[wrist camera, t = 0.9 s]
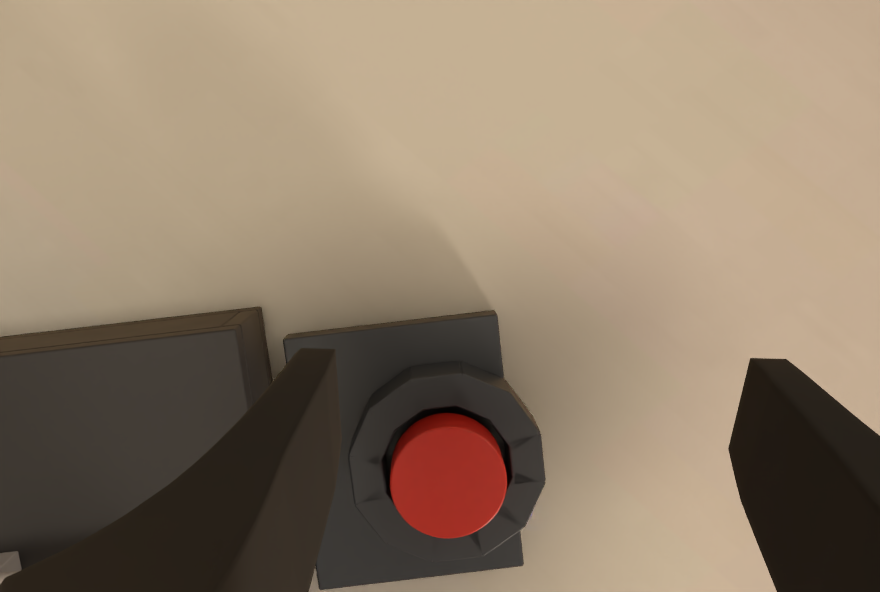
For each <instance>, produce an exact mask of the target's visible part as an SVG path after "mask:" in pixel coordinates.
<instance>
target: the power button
mask: <svg viewBox="0 0 880 592" xmlns="http://www.w3.org/2000/svg"><path fill="white" fill-rule="evenodd" d="M506 489H507V474H506V468H505V465H504V462H503V458H502V455H501V451H500V448H499V446H498V444H497V441H496V440H495V438H494V437H493V435H492V434H491V433H490V431H489V430H488V429H487V428H486V427H484V426H483V425H482V424H481V423H479V422H478V421H476V420H474V419H472V418H470V417H468V416H465V415H461V414H456V413H439V414H433V415H430V416H427V417H425V418H423V419H420V420H419V421H417V422H415V423H414V424H413V425H411V426H410V427H409V428H408V429H407V430H406V431H405V432H404V433H403V434H402V436H401V437H400V439H399V440H398V442H397V444H396V446H395V449H394V452H393V456H392V462H391V473H390V491H391V496H392V500H393V502H394V505H395V507H396V509H397V511H398V512H399V514H400V515H401V516H402V518H403V519H404V520H405V521H406V522H407V523H408V524H409V525H411V526H412V527H413V528H415V529H416V530H418V531H420V532H422V533H424V534H427V535H430V536H433V537H438V538H458V537H463V536H466V535H469V534H472V533H474V532H476V531H478V530H479V529H481V528H483V527H484V526H485V525H486V524H488V523H489V522H490V521H491V520H492V519H493V518H494V516H495V515H496V514H497V512H498V511H499V509H500V507H501V506H502V503H503V501H504V498H505V494H506Z"/></svg>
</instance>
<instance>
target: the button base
mask: <svg viewBox="0 0 880 592" xmlns="http://www.w3.org/2000/svg"><path fill="white" fill-rule="evenodd" d="M283 344H284V351H285V358H286V364H287V363H288V362H289V361H290V359H291V358H292V357H293V355H294V354H295V353H296V352H297V351H298V350H299V349H301V348H315V349H335V350H336V364H337V378H338V392H339V406H340V420H341V434H342V442H341V450H340V457H339V465H338V473H337V480H336V487H335V492H334V496H333V500H332V504H331V508H330V512H329V515H328V519H327V523H326V527H325V531H324V535H323V538H322V542H321V546H320V550H319V554H318V557H317V561H316V571H317V578H318V585H319V589H320V590H325V589H333V588H342V587H350V586H358V585H367V584H375V583H384V582H392V581H400V580H409V579H417V578H425V577H434V576H442V575H451V574H459V573H467V572H476V571H484V570H493V569H501V568H509V567H518V566H523V564H524V562H523V553H522V543H521V534H520V530H522V529H523V528H524V527H525V526H526V524H527V521H528V519H529V517H530V515H531V513H532V511H533V509H534V507H535V504H536V502H537V500H538V498H539V496H540V494H541V492H542V490H543V487H544V485H545V470H544V460H543V450H542V440H541V434H540V431H539V429H538V426H537V424H536V422H535V420H534V418H533V416H532V414H531V413H530V412H529V410H528V409H527V408H526V406H525V405H524V404H523V402H522V401H521V400H520V398H519V397H518V396H517V394H516V393H515V392H514V390H513V389H512V388H511V386H510V385H509V384H508V382H507V381H506V380H505V379H504V373H503V364H502V354H501V345H500V336H499V326H498V317H497V314H496V312H495V311H494V310H492V311H483V312H475V313H466V314H458V315H449V316H441V317H432V318H424V319H415V320H407V321H398V322H390V323H381V324H372V325H364V326H355V327H347V328H338V329H330V330H321V331H313V332H304V333H296V334H288V335H287V336H286V337H285V338H284V340H283ZM439 413H456V414H461V415H465V416H468V417H470V418H472V419H474V420H476V421H478V422H479V423H481V424H482V425H483V426H484V427H486V428H487V429H488V430H489V431H490V433H491V434H492V435H493V437H494V438H495V440H496V441H497V444H498V446H499V448H500V451H501V455H502V458H503V462H504V465H505V468H506V474H507V489H506V494H505V498H504V501H503V503H502V506H501V507H500V509H499V511H498V512H497V514H496V515H495V516H494V518H493V519H492V520H491V521H490V522H489V523H488V524H486V525H485V526H484V527H483V528H481V529H479V530H478V531H476V532H474V533H472V534H469V535H466V536H463V537H458V538H438V537H433V536H430V535H427V534H424V533H422V532H420V531H418V530H416V529H415V528H413V527H412V526H411V525H409V524H408V523H407V522H406V521H405V520H404V519H403V518H402V516H401V515H400V514H399V512H398V511H397V509H396V507H395V505H394V502H393V500H392V496H391V491H390V473H391V462H392V456H393V452H394V449H395V446H396V444H397V442H398V440H399V439H400V437H401V436H402V434H403V433H404V432H405V431H406V430H407V429H408V428H409V427H410V426H411V425H413V424H414V423H415V422H417V421H419V420H420V419H423V418H425V417H427V416H430V415H433V414H439Z"/></svg>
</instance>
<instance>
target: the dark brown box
mask: <svg viewBox="0 0 880 592" xmlns="http://www.w3.org/2000/svg"><path fill="white" fill-rule="evenodd" d="M234 325H239V326H240V327H241V334H242V340H243V347H244V353H245V360H246V366H247V373H248V379H249V386H250V393H251V399H252V405H253V404H254V403H255V402H256V401H257V399H258V398H259V397H260V396H261V395H262V394H263V393H264V391H265V390H266V389H267V388H268V387H269V385H270V384H271V383H272V377H271V370H270V364H269V357H268V350H267V343H266V337H265V330H264V323H263V316H262V310H261V307H254V308H245V309H237V310H228V311H219V312H211V313H202V314H194V315H185V316H177V317H168V318H160V319H151V320H142V321H134V322H125V323H117V324H108V325H100V326H91V327H83V328H74V329H65V330H57V331H48V332H40V333H31V334H23V335H14V336H5V337H0V353H3V352H11V351H20V350H28V349H37V348H46V347H54V346H63V345H71V344H80V343H88V342H97V341H105V340H114V339H123V338H131V337H140V336H148V335H157V334H165V333H174V332H182V331H191V330H199V329H208V328H217V327H225V326H234Z"/></svg>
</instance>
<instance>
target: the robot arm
mask: <svg viewBox="0 0 880 592" xmlns="http://www.w3.org/2000/svg"><path fill="white" fill-rule="evenodd" d="M341 442H342V434H341V420H340V406H339V392H338V378H337V364H336V350H335V349H315V348H301V349H299V350H298V351H297V352H296V353H295V354H294V355H293V357H292V358H291V359H290V361H289V362H288V363H287V364H286V366H285V367H284V368H283V369H282V371H281V372H280V373H279V374H278V376H277V377H276V378H275V379H274V381H273V382H272V383H271V384H270V385H269V387H268V388H267V389H266V390H265V391H264V393H263V394H262V395H261V396H260V397H259V398H258V399H257V401H256V402H255V403H254V404H253V405H252V406H251V407H250V408H249V409H248V411H247V412H246V413H245V414H244V415H243V416H242V417H241V418H240V419H239V421H238V422H237V423H236V424H235V425H234V426H233V427H232V428H231V429H230V430H229V431H228V432H227V433H226V434H225V435H224V436H223V437H222V438H221V439H220V440H219V441H218V442H217V443H216V444H215V445H214V446H213V447H212V448H210V449H209V450H208V451H207V452H206V453H205V454H204V455H203V456H202V457H201V458H200V459H198V460H197V461H196V462H195V463H194V464H193V465H192V466H190V467H189V468H188V469H187V470H186V471H185V472H183V473H182V474H181V475H180V476H178V477H177V478H176V479H175V480H174V481H172V482H171V483H170V484H169V485H167V486H166V487H164V488H163V489H162V490H160V491H159V492H157V493H156V494H154V495H153V496H152V497H150V498H149V499H147V500H146V501H144V502H143V503H141V504H140V505H139V506H137V507H136V508H134V509H133V510H131V511H130V512H128V513H127V514H125V515H124V516H122V517H121V518H119V519H117V520H116V521H114V522H112V523H111V524H109V525H108V526H106V527H104V528H103V529H101V530H99V531H97V532H96V533H94V534H92V535H90V536H89V537H87V538H85V539H83V540H81V541H80V542H78V543H76V544H74V545H72V546H70V547H68V548H66V549H65V550H63V551H61V552H59V553H56V554H54V555H52V556H50V557H48V558H46V559H44V560H42V561H40V562H38V563H36V564H33V565H31V566H29V567H27V568H25V569H23V570H21V571H19V572H17V573H14V574H12V575H10V576H7V577H5V578H4V580H3V581H2V583H1V584H0V592H308V591H309V588H310V584H311V580H312V576H313V572H314V569H315V565H316V561H317V557H318V554H319V550H320V546H321V542H322V538H323V535H324V531H325V527H326V523H327V519H328V515H329V512H330V508H331V504H332V500H333V496H334V492H335V487H336V480H337V473H338V465H339V457H340V450H341ZM728 449H729V453H730V458H731V462H732V467H733V471H734V475H735V480H736V483H737V487H738V491H739V495H740V499H741V502H742V505H743V507H744V510H745V513H746V515H747V518H748V520H749V523H750V525H751V528H752V530H753V533H754V536H755V538H756V541H757V543H758V546H759V548H760V551H761V553H762V556H763V558H764V560H765V563H766V565H767V568H768V570H769V573H770V575H771V578H772V580H773V583H774V585H775V588H776V590H777V592H880V436H879V435H878V434H877V433H875V432H874V431H873V430H872V429H870V428H869V427H868V426H867V425H865V424H864V423H863V422H862V421H860V420H859V419H858V418H857V417H856V416H854V415H853V414H852V413H851V412H850V411H848V410H847V409H846V408H845V407H843V406H842V405H841V404H840V403H839V402H838V401H836V400H835V399H834V398H833V397H832V396H830V395H829V394H828V393H827V392H826V391H825V390H823V389H822V388H821V387H820V386H819V385H817V384H816V383H815V382H814V381H813V380H811V379H810V378H809V377H808V376H807V375H806V374H804V373H803V372H802V371H801V370H799V369H798V368H797V367H796V366H794V365H793V364H792V363H790V362H789V361H788V360H786V359H759V358H750V362H749V366H748V370H747V374H746V378H745V382H744V386H743V391H742V395H741V399H740V403H739V407H738V411H737V415H736V420H735V424H734V428H733V432H732V436H731V440H730V444H729V448H728Z"/></svg>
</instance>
